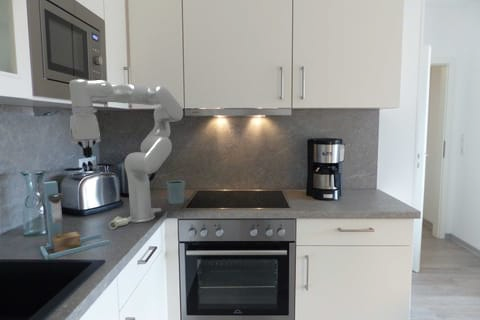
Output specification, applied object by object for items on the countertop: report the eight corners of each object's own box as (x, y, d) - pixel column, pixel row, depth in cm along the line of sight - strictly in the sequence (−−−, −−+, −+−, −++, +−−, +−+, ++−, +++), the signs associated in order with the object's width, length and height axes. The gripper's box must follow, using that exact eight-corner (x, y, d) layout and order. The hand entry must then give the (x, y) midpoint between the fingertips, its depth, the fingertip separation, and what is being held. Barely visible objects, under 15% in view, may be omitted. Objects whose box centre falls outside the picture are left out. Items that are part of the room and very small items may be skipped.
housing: (77, 244, 120) (75, 228, 120) (81, 248, 116) (79, 232, 115) (53, 249, 115) (51, 233, 115) (56, 254, 111) (54, 237, 110)
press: (97, 233, 131) (92, 176, 128) (109, 243, 119) (104, 180, 116) (38, 247, 118) (31, 183, 115) (45, 259, 106) (37, 189, 103)
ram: (63, 218, 116) (61, 192, 115) (66, 221, 112) (63, 194, 111) (49, 221, 113) (46, 195, 112) (51, 224, 109) (48, 197, 108)
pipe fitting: (129, 224, 144) (114, 224, 144) (130, 216, 144) (114, 215, 143) (124, 230, 136) (108, 229, 136) (124, 221, 136) (108, 220, 136)
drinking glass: (167, 201, 184) (165, 181, 183) (184, 199, 187) (183, 179, 186) (168, 205, 174) (167, 184, 173) (187, 203, 177) (186, 182, 176)
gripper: (99, 111, 134) (104, 155, 136) (60, 112, 124) (65, 159, 126) (105, 110, 128) (110, 155, 130) (64, 111, 118) (70, 160, 121)
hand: (88, 157), depth 128 cm, fingers closed
